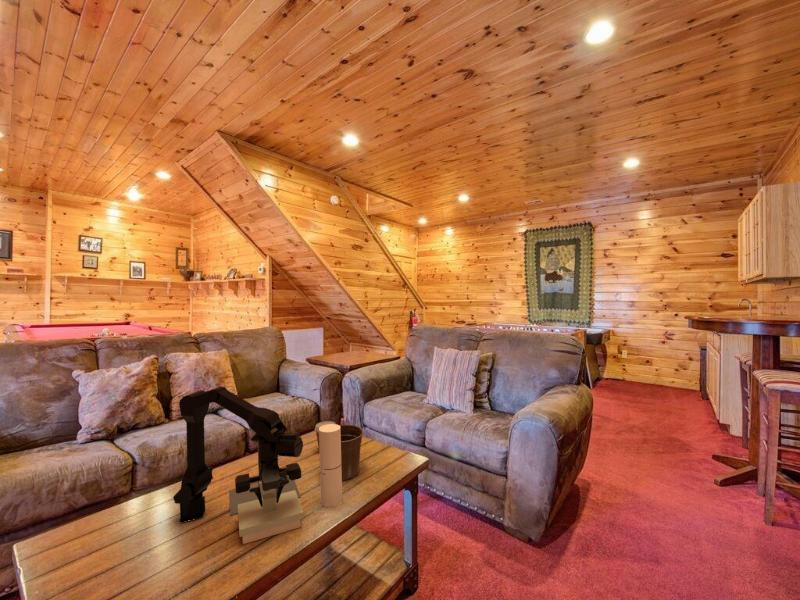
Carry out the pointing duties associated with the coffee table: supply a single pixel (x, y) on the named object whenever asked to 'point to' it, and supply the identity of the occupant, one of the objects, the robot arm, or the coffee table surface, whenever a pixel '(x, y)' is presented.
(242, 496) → the mat
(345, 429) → the plant pot
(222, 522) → the coffee table surface
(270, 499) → the lid
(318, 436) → the disposable coffee cup
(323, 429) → the cylindrical container
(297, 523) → the box
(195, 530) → the coffee table surface
